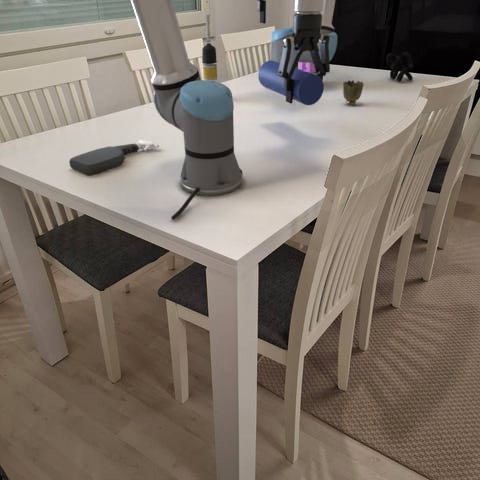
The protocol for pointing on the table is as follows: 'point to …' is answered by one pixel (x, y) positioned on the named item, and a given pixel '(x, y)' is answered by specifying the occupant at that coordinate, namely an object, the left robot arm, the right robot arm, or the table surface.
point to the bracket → (309, 68)
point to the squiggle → (399, 66)
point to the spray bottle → (106, 157)
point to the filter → (209, 57)
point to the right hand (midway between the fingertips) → (280, 21)
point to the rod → (305, 83)
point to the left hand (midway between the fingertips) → (302, 100)
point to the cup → (352, 91)
